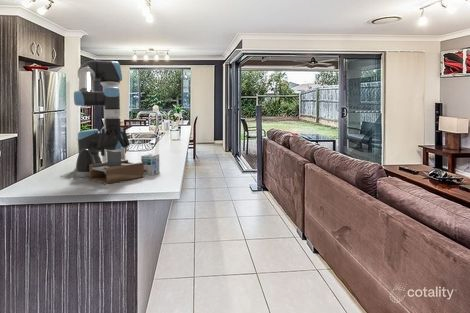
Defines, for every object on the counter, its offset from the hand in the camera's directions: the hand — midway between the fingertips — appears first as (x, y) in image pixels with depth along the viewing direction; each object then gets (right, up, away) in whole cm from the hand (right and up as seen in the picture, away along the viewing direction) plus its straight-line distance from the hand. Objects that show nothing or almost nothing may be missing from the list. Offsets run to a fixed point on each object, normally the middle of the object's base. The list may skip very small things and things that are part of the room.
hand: (114, 160), depth 202 cm
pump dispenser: (-18, -9, +8) cm, 21 cm away
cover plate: (0, -4, +1) cm, 4 cm away
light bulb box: (+15, -8, +20) cm, 26 cm away
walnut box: (+1, -10, +3) cm, 10 cm away
